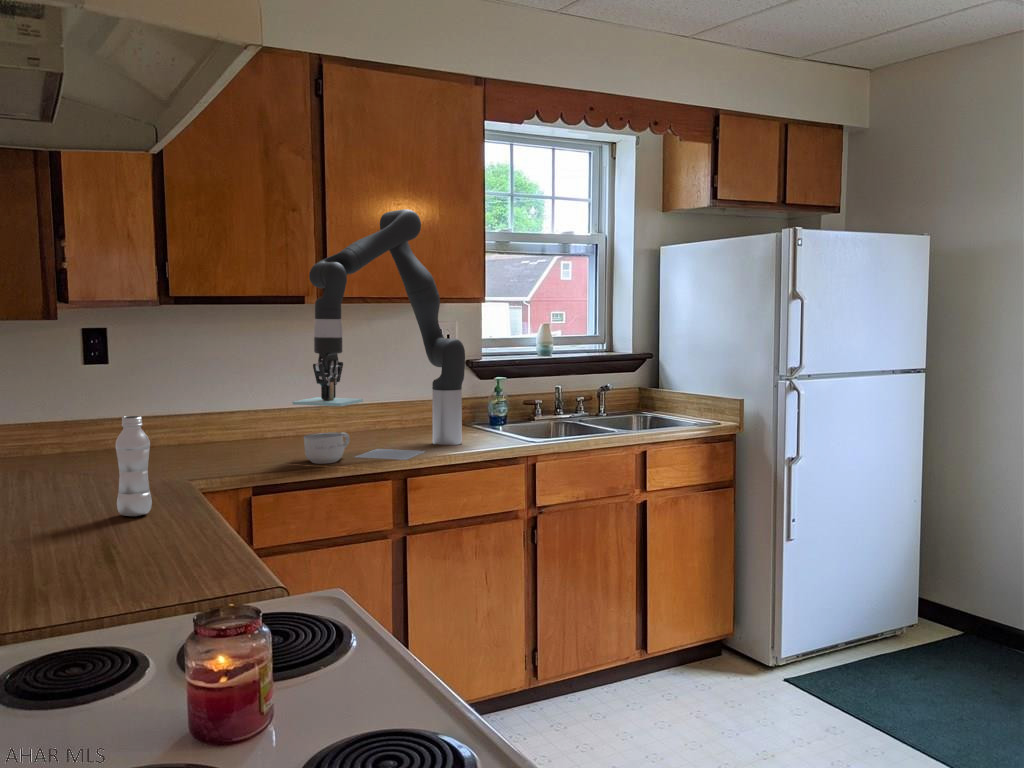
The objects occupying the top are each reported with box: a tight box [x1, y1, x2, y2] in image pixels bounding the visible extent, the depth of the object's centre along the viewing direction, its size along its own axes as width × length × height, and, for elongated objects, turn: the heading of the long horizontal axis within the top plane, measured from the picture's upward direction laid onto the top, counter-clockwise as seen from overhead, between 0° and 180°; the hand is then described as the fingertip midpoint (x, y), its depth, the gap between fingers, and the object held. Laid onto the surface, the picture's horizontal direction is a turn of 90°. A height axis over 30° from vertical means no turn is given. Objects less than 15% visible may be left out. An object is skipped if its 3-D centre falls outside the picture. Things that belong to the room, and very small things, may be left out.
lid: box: [292, 382, 364, 407], centre depth 232 cm, size 14×14×6 cm
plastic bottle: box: [114, 415, 153, 517], centre depth 169 cm, size 6×7×20 cm
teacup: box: [302, 432, 351, 465], centre depth 233 cm, size 14×11×8 cm
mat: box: [354, 448, 427, 461], centre depth 245 cm, size 16×16×1 cm
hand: (328, 398), depth 232 cm, fingers closed on lid, 2 cm apart
